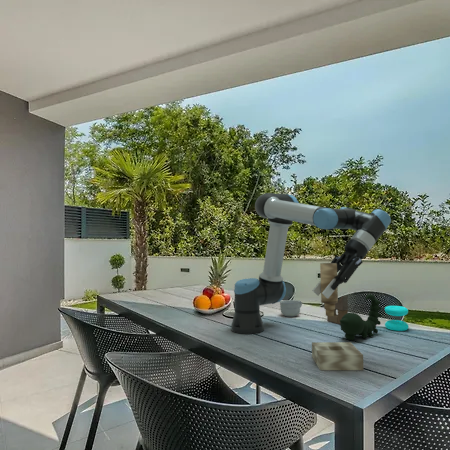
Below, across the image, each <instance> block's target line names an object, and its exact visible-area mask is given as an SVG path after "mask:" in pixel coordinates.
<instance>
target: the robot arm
mask: <svg viewBox="0 0 450 450" xmlns="http://www.w3.org/2000/svg"><path fill="white" fill-rule="evenodd" d="M254 209H255V212H256V214H257V215H258V216H259V217H260V218H264V219H267V222H268V223H269V231H268V237H267V243H266V249H265V250H266V252H265V257H264V265H263V269H262V272H261V273H259V276H258V278H255V277H254V278H253V277H251V278H249V277H248V278H242V279H239V280H237V281H235V284H234V289H233V293H234V315H233V318H232V321H231V325H230V326H231V328H230V329H231V331H232V332H234V333H236V334H244V335H246V334H247V335H248V334H249V335H252V334H253V335H254V334H258V333H262V332H264V329H265V328H264V321H263V320H262V316H261V313H260V306H265V305H271V304H272V305H273V304H276V303H280V301H284V300H283V299H284V298H285V297H286V294H287V287H286V283H285V282H284V278H283V276H282V275H281V274H282V268H283V262H284V258H285V257H284V256H285V249H286V244H287V237H288V231H289V227H290V226H292V225H293V222H296V223H300V224H305V225H310V226H315V227H316V228H318V229H321V230H353V231H356V232H354V234H353V235H352V236H351V237H350V239H349V240H348V242H347V243H346V244H345V245H344V247H343V249H344V252H343V253H341V255H340V256H339V255H338V254H336V255H334V257H333V260H331V261H330V263H337V276H335V277H334V278H335V279H336V280H335V279H333V280H332V281H331V282H330V283H329V285H328V286H327V287H326V288H325V290H324V291H323V292H322V294H323V295H324V296H325V297H326V298H329V297H330V296H331V294H332V293H333V292H334V291H335V289H336V288H337V287H339V286H340V285H341V284H343V283H344V284H347V283H348V281H349V280H350V278H351V277H352V276H353V275H354V273H355V272H356V270H357V269H358V268H359V266H361V265H362V264H363V259H364V258H365V257H366V255H367V254H368V253H369V251H370V250H371V249H372V248H373V246H374V245H375V244H376V242H377V241H378V240H379V238H380V237H381V236H382V235H383V234H384V233H385V231H387V229H388V227H390V224H391V222H392V219H391V216H390V214H388V212H386V211H385V210H382V209H379V208H378V209H374V210H372V211H371V212H370V213H369V212H363V211H361V210H357V209H354V208H351V207H346V206H341V207H340V208H330V207H325V206H318V205H317V206H316V205H311V204H306V203H299V201H298V199H297V198H296V196H294V195H292V194H287V193H273V192H268V193H263V194H261V195H259V196H258V197H257V199H256V201H255V203H254ZM312 292H313V293H314V294H315V295H316V296H317V297H319V296H320V295H321V279H320V281H318V283H317V284H316V286H315V287H314V288H313V289H312Z"/></svg>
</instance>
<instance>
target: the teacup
mask: <svg viewBox="0 0 450 450" xmlns="http://www.w3.org/2000/svg"><path fill="white" fill-rule="evenodd" d="M279 304H280V305H279V306H280V307H279V308H280V313H281V314H282V315H283V317H286V318H288V317H289V318H291V317H292V318H293V317H297V316H298V315H299V314H300V312H301V307H302V304H303V301H302V300H300V299H299V300H295V299H289V300H287V299H286V300H281V301H280V302H279Z"/></svg>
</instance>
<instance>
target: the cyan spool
mask: <svg viewBox="0 0 450 450" xmlns="http://www.w3.org/2000/svg"><path fill="white" fill-rule="evenodd" d="M384 312H385V313H386V315H389V316H393V317H404V316H406V315H408V314H409V309H408V308H407V307H405V306H402V305H401V306H400V305H387V306H385V307H384ZM384 327H385V328H386V329H388V330H390V331H394V332H395V331H396V332H403V331H407V330H409V324H408V323H407V322H406V321H404V320H401V319H389V320H386V321H385V322H384Z"/></svg>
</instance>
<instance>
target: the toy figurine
mask: <svg viewBox="0 0 450 450" xmlns="http://www.w3.org/2000/svg"><path fill="white" fill-rule="evenodd" d="M367 300H370V306H369V311H368V316H367V318H366V320H364V319H363V317H361V315H359V314H358V313H355V312H348V313H347V314H345V315H344V316H343V317H342V319H341V320H340V324H339V326H340V330H341V331H343V333H344V338H345V339H346V340H348V341H354V340H355V337H356V336H361V338H363V339H366V338H367V337H369V338H373V336H374V334H378V332H379V330H378V329H377V325H378V326H379V325H381V320H379V318H381V317H383V316H382V314H381V313H379V311H381V310H382V307H381V306H379V305H380V304H382V302H381V300H379V299H377V298H376V296H375V295H374V294H372V293H368V294H367V295H366V296H365V301H367Z"/></svg>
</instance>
